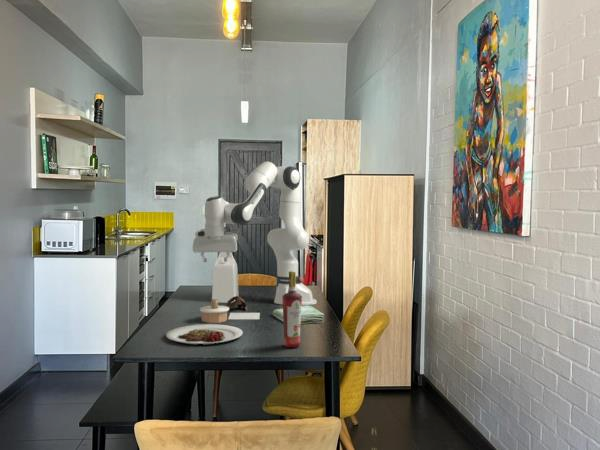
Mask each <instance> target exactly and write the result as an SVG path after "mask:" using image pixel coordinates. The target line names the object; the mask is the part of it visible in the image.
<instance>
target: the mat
mask: <svg viewBox="0 0 600 450" xmlns="http://www.w3.org/2000/svg"><path fill="white" fill-rule="evenodd" d="M260 316H261V313H260V312H229V316H228V317H227V320H260Z"/></svg>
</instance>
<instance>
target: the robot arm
mask: <svg viewBox="0 0 600 450" xmlns="http://www.w3.org/2000/svg"><path fill="white" fill-rule="evenodd" d="M300 182H301V173H300V171H299V169H298V168H297V167H294V166H290V165H289V166H287V165H285V166H283V165H282V166H281V165H280V166H276V165H275V164H274V163H273V162H271V161H264V162H262V163H261V164H259V165H257V167H255V168H254V169H253V170H252V171H250V173H249V175H248V176H247V177H246V179H245V189H247V191H248V192H249V193H250V195H249V196H248V197H247V198H246V199H245V201H243V202H240V203H232V202H231V203H230V201H226V200H225V199H224V198H223V197H222V196H211V197H208V198H207V199H206V200H205V204H204V218H205V219H204V220H205V223H204V228H202V229H200V230H197V231H195V237H194V239H193V243H192V251H193V253H197V254H198V253H200V256H201V258H202V260H203V263H207V261H208V258H207V257H205V256H204V255H205V253H220V252H226V254H228V255H227V257H226V258H224V262H227V258H228V256H229V254H230V252H231V253H236V252H237V251H238V242H237V241H238V240H239V238H238V237H239V234H238V233H236V232H235V231H225V224H228V225H238V226H246V225H247V224H249V223H250V222H251V221H252V218H253V216H254V213H255V212H256V209H258V207H259V206H260V204H261V202H262V201H263V199H264V198H265V196H267V195H266V194H267V191H268V190H267V189H268V188H271V189H274V188H275V189H279V190H280V195H279V209H278V210H279V211H278V216H279V218H280V220H282V221H283V223H284V228H281V227H278V228H273V229H271V230H270V231H269V232H268V234H267V238H266V239H267V244H268V246H270V247H271V248H272V250H273V253H274V255H275V259H276V274H277V275H276V277H275V278H276V279H275V285H276V292H275V298H274V300H273V303H274V304H277V305H282V306H283V299H282V296H283V295H284V294H286V293H288V289H289V272H290V271H294V272H296V279H295V283H296V293H299V294H300V295H301V296H302V306H305V305H310V306H312V305H316V304H317V303H318V302H317V299H315V298H313V293H312V290H311V289H310V288H309V287H307V285H305V284H304V283H302V282H303V281H304V278H303V277H302V276H300V275H299V261H298V259H297V258H296V257H295V255H294V253H293V251H302V250H305V249H306V248H308V246H309V244H310V235H309V233H307V231H306V230H305V228H304V227H303V223H302V220H301V205H302V204H301V203H302V195H301V192H302V191H301V186H300Z"/></svg>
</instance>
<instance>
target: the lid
mask: <svg viewBox="0 0 600 450" xmlns="http://www.w3.org/2000/svg"><path fill="white" fill-rule="evenodd" d="M229 311H230V309H229V307H227V305H220V304H219V302H218V299H212V298H211V300H210V305H204V306H201V307H199V312H201V313H202V312H205V313H222V312H227V313H228V312H229Z"/></svg>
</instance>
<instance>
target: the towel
mask: <svg viewBox="0 0 600 450" xmlns="http://www.w3.org/2000/svg"><path fill="white" fill-rule="evenodd" d="M272 316H273V317H275V318H276V319H278V320H279V321H281V322H283V308H277V309H274V310H273V311H272ZM324 316H325V314H324V313H323V312H321V311H319V310H318V309H316V307H314V306H312V305H302V307H301V322H300V325H306V324H307V325H308V324H316V323H317V324H321V323H322V324H323V323H324V319H325V318H324Z"/></svg>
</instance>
